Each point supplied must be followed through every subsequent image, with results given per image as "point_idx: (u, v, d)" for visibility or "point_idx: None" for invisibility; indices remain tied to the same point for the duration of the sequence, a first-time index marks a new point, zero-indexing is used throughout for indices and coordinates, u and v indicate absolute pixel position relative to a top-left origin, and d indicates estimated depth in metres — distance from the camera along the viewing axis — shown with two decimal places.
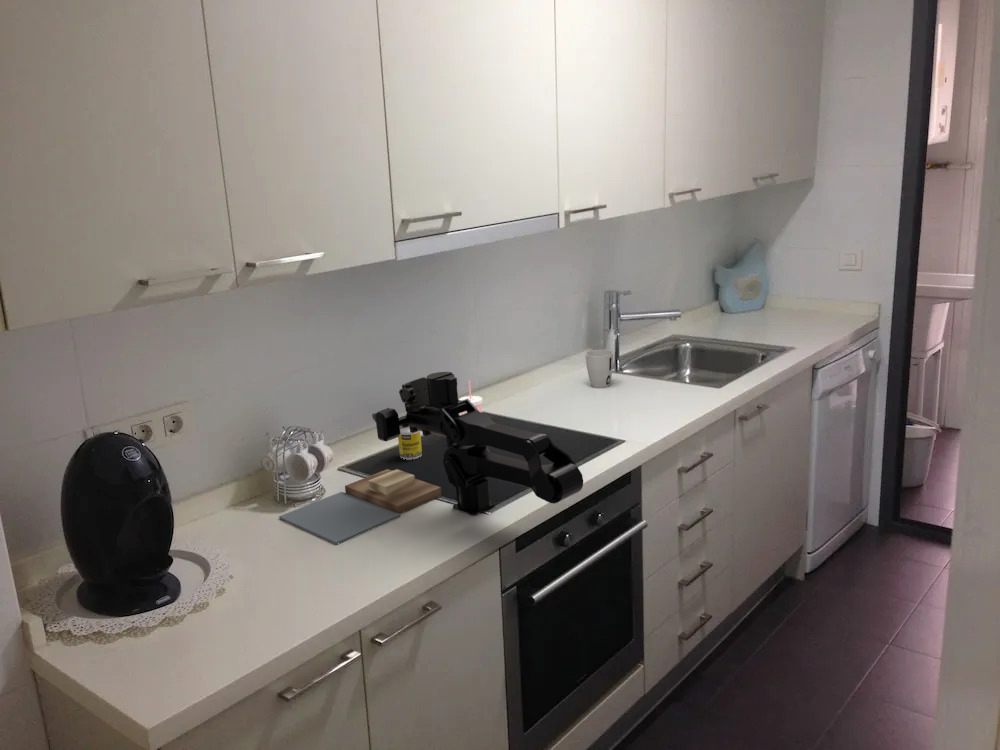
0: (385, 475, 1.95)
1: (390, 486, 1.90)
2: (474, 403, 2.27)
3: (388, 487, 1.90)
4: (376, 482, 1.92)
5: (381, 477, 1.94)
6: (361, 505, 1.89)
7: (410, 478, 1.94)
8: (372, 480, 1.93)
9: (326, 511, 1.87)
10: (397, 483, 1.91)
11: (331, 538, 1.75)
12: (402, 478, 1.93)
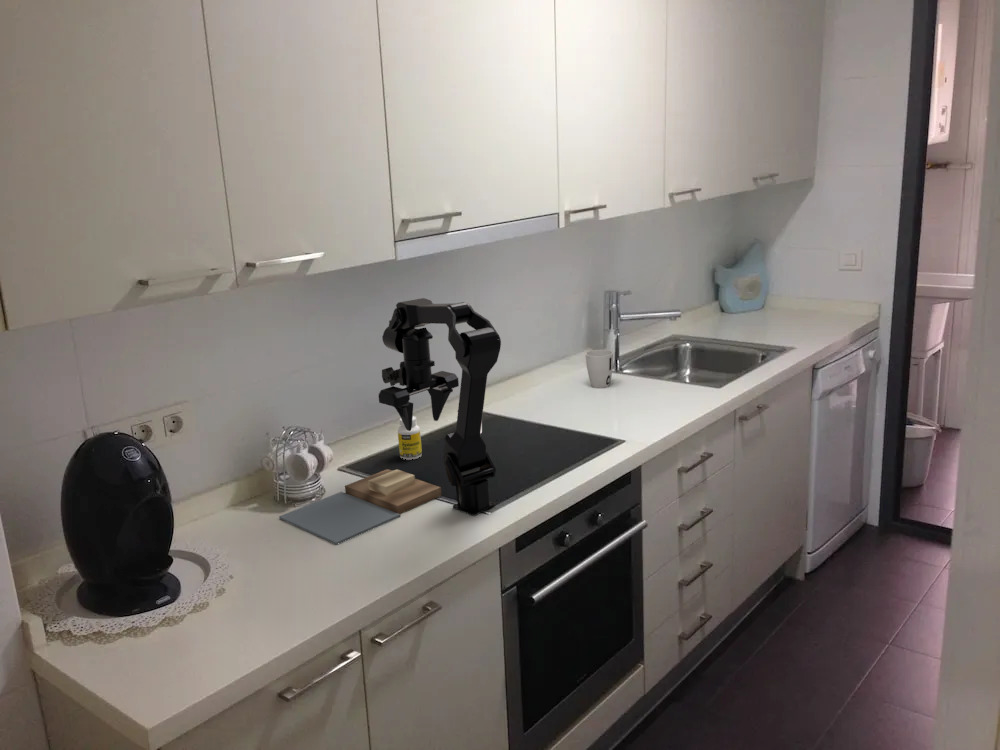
0: (385, 475, 1.95)
1: (390, 486, 1.90)
2: None
3: (388, 487, 1.90)
4: (376, 482, 1.92)
5: (381, 477, 1.94)
6: (361, 505, 1.89)
7: (410, 478, 1.94)
8: (372, 480, 1.93)
9: (326, 511, 1.87)
10: (397, 483, 1.91)
11: (331, 538, 1.75)
12: (402, 478, 1.93)
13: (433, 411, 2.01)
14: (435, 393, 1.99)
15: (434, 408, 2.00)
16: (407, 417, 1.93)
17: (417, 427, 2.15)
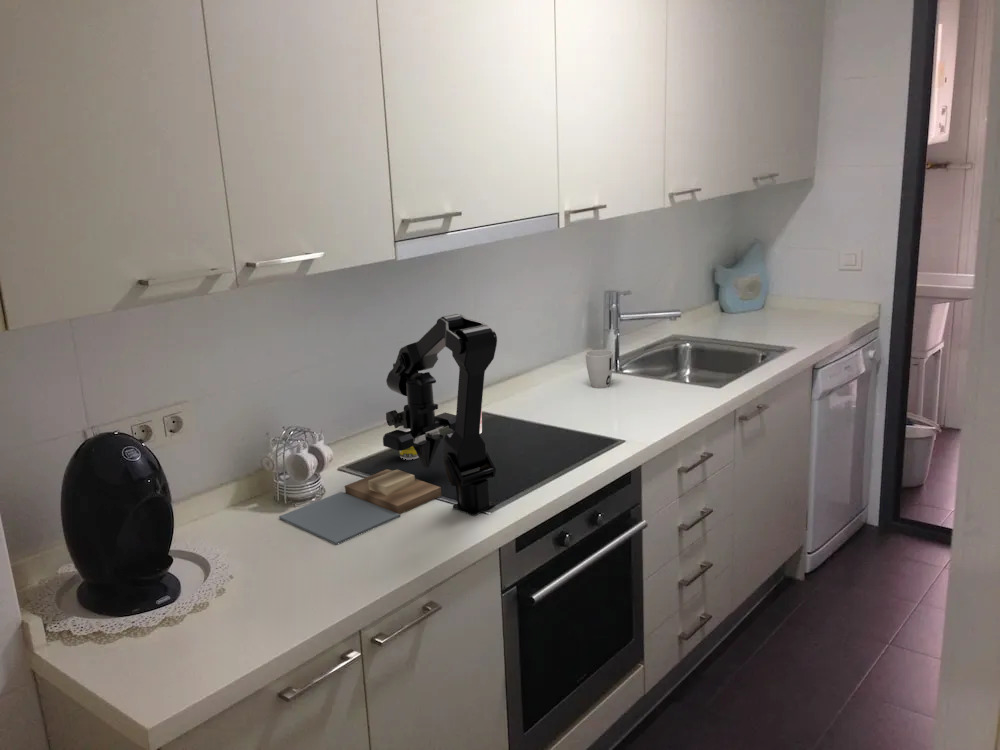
0: (385, 475, 1.95)
1: (390, 486, 1.90)
2: None
3: (388, 487, 1.90)
4: (376, 482, 1.92)
5: (381, 477, 1.94)
6: (361, 505, 1.89)
7: (410, 478, 1.94)
8: (372, 480, 1.93)
9: (326, 511, 1.87)
10: (397, 483, 1.91)
11: (331, 538, 1.75)
12: (402, 478, 1.93)
13: None
14: (426, 439, 2.00)
15: None
16: (424, 455, 1.98)
17: None
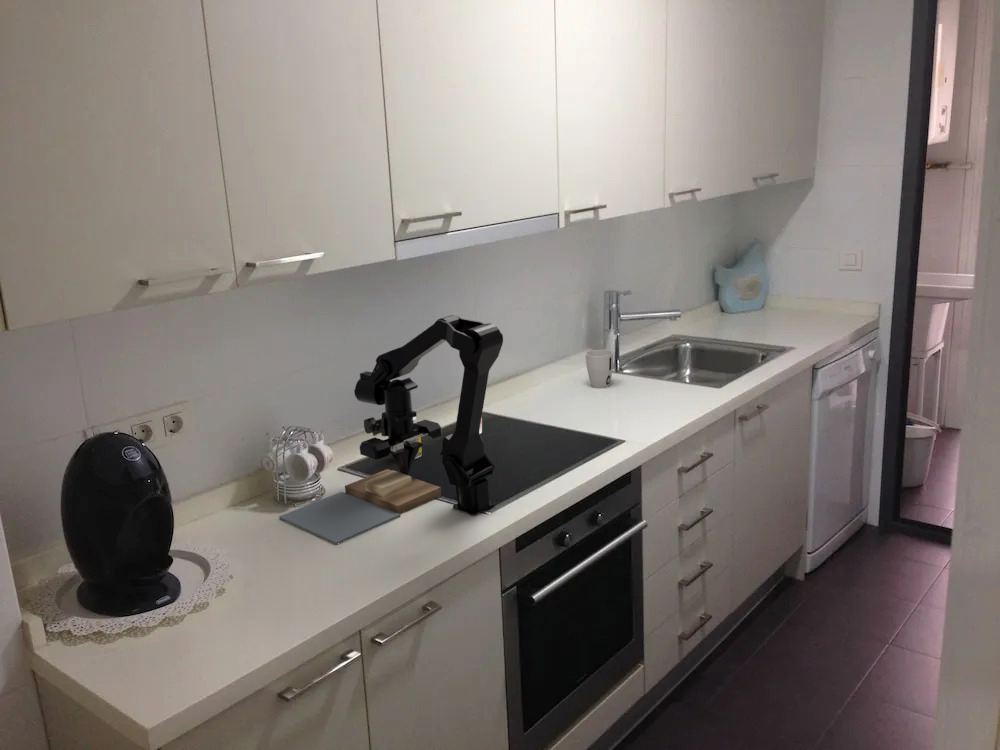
0: (382, 476, 1.95)
1: (386, 487, 1.89)
2: None
3: (384, 488, 1.89)
4: (372, 483, 1.91)
5: (378, 478, 1.94)
6: (361, 505, 1.89)
7: (407, 479, 1.93)
8: (369, 481, 1.93)
9: (326, 511, 1.87)
10: (393, 484, 1.91)
11: (331, 538, 1.75)
12: (399, 480, 1.92)
13: None
14: (404, 447, 1.95)
15: None
16: (402, 463, 1.94)
17: None
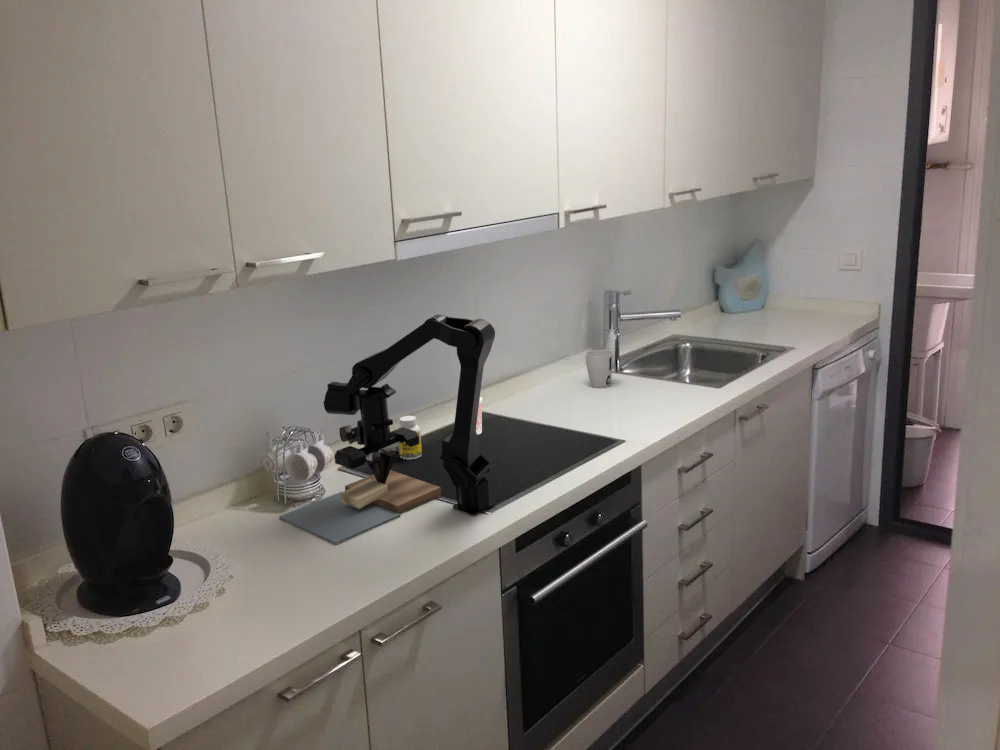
0: (357, 486, 1.90)
1: (362, 499, 1.85)
2: None
3: (360, 500, 1.85)
4: (348, 495, 1.87)
5: (353, 489, 1.89)
6: None
7: (383, 488, 1.89)
8: (344, 493, 1.88)
9: (326, 511, 1.87)
10: (369, 495, 1.86)
11: (331, 538, 1.75)
12: (375, 489, 1.88)
13: None
14: (381, 456, 1.91)
15: None
16: (379, 472, 1.89)
17: (417, 427, 2.15)
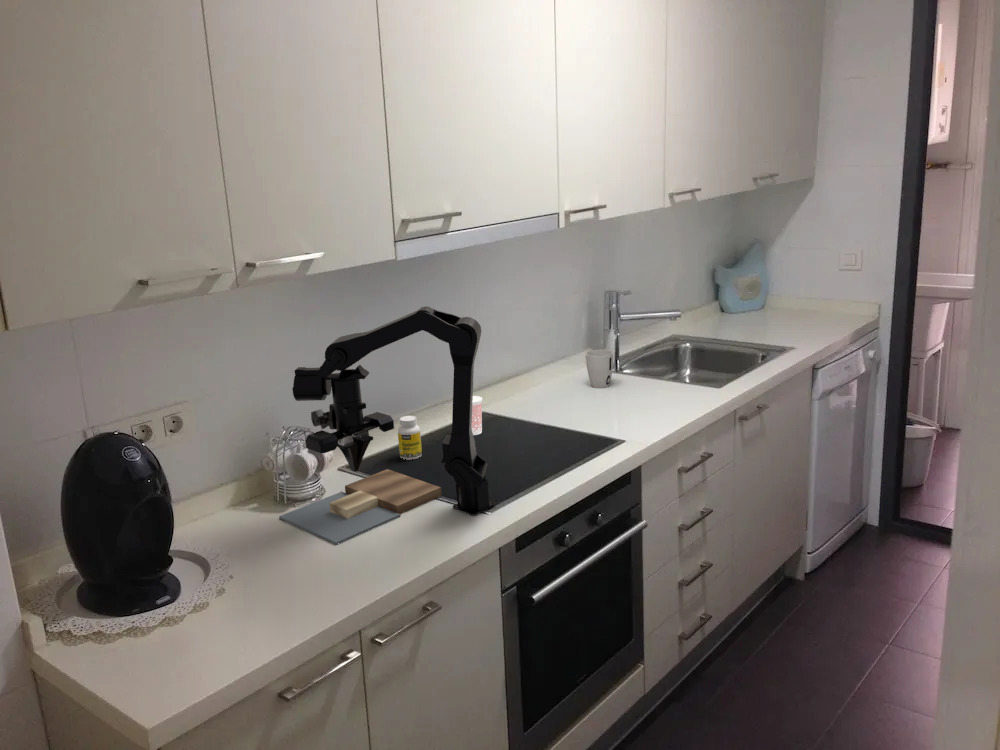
0: (347, 497, 1.89)
1: (351, 509, 1.83)
2: (474, 403, 2.27)
3: (349, 510, 1.83)
4: (337, 504, 1.85)
5: (343, 499, 1.88)
6: None
7: (373, 500, 1.87)
8: (334, 502, 1.86)
9: (326, 511, 1.87)
10: (359, 506, 1.85)
11: (331, 538, 1.75)
12: (365, 501, 1.86)
13: None
14: (354, 441, 1.85)
15: None
16: (351, 458, 1.84)
17: (417, 427, 2.15)
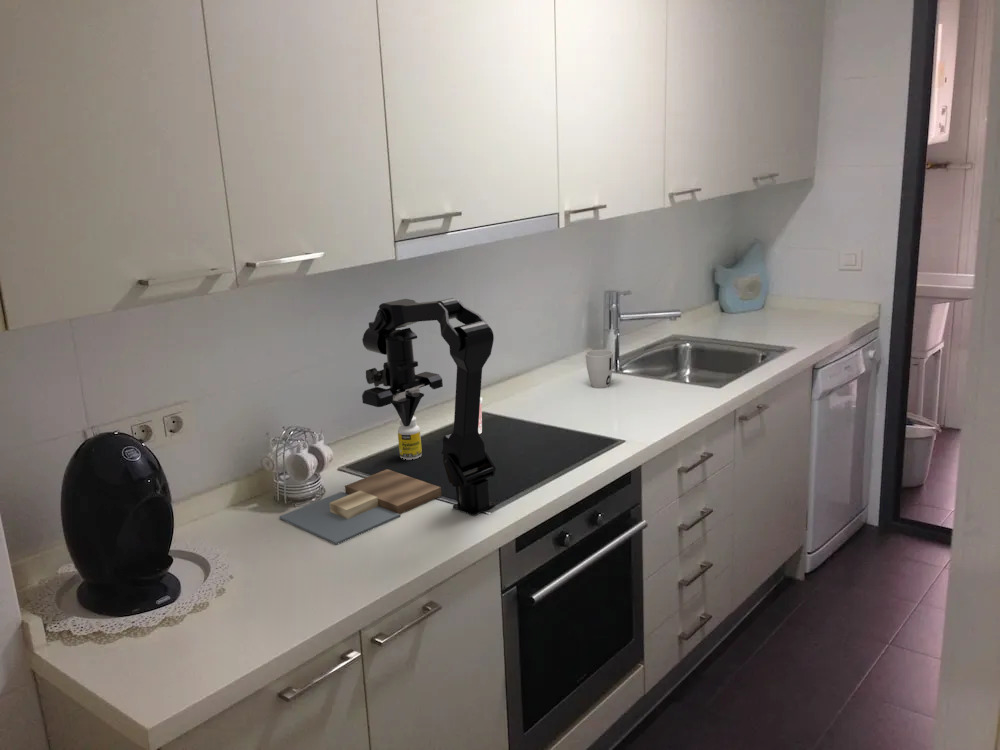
0: (347, 497, 1.89)
1: (351, 509, 1.83)
2: None
3: (349, 510, 1.83)
4: (337, 504, 1.85)
5: (343, 499, 1.88)
6: None
7: (373, 500, 1.87)
8: (334, 502, 1.86)
9: (326, 511, 1.87)
10: (359, 506, 1.85)
11: (331, 538, 1.75)
12: (365, 501, 1.86)
13: None
14: (406, 398, 1.98)
15: None
16: (404, 413, 1.96)
17: (417, 427, 2.15)
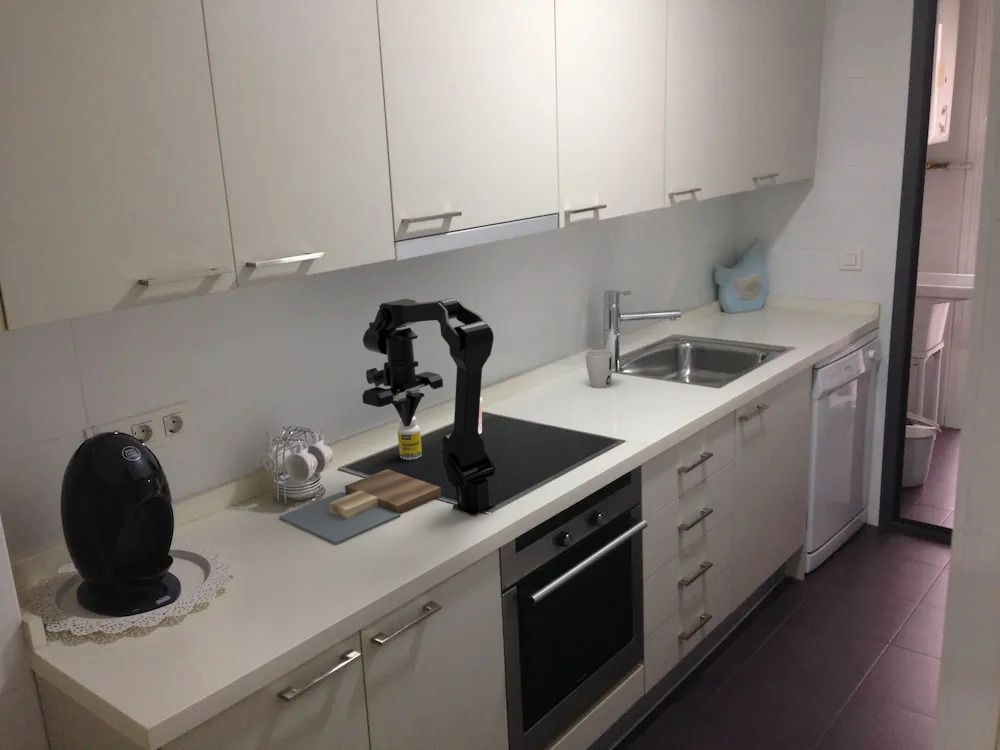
0: (347, 497, 1.89)
1: (351, 509, 1.83)
2: None
3: (349, 510, 1.83)
4: (337, 504, 1.85)
5: (343, 499, 1.88)
6: None
7: (373, 500, 1.87)
8: (334, 502, 1.86)
9: (326, 511, 1.87)
10: (359, 506, 1.85)
11: (331, 538, 1.75)
12: (365, 501, 1.86)
13: None
14: (406, 397, 1.98)
15: None
16: (404, 413, 1.96)
17: (417, 427, 2.15)
